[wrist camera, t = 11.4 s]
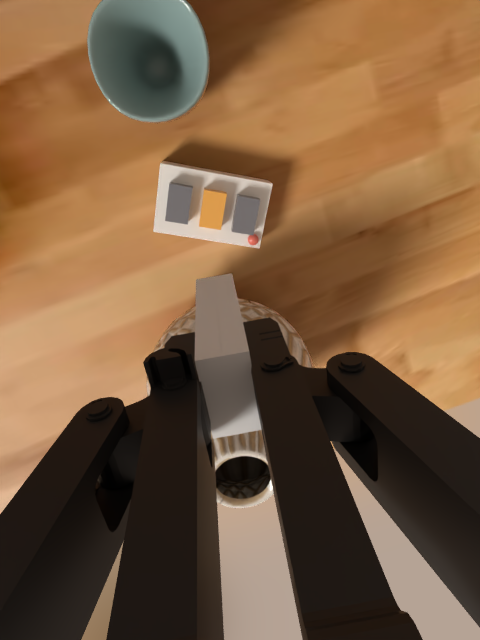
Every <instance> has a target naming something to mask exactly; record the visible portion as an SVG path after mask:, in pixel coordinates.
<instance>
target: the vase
mask: <svg viewBox="0 0 480 640" xmlns="http://www.w3.org/2000/svg"><path fill="white" fill-rule="evenodd" d="M238 302H239V307H240V312H241V316H242V321H243V322H247V321H252V320H258V319H263V318H269V317H270V318H272V319H273V320H275V321H276V322H278V324H279V327H280V329H281V332H282V334H283V337H284V339H285V342H286V344H287V347H288V349H289V352H290V354H291V355H292V356H294V357H295V358H296V360H297V361H298V363H299V365H301V366H304V367H309V368H313V363H312V359H311V356H310V353H309V351H308V349H307V347H306V345H305V343H304V341H303V339H302V338H301V336H300V335H299V333H298V332H297V331H296V330H295V328H294V327H293V326H292V325H291V324H290V323H289V322H288V321H287V320H286V319H285V318H284V317H282V316H281V315H280V314H279V313H277V312H276V311H274V310H272V309H271V308H269V307H267V306H265V305H262V304H260V303H257V302H254V301H250V300H246V299H238ZM195 311H196V306H195V307H193V308H191V309H189V310H188V311H186V312H185V313H183V314H182V315H180V316H179V317H178V318H177V319H176V320H174V321H173V322H172V323H171V324H170V326H169V327H168V328H167V329H166V330H165V332H164V333H163V335H162V336H161V338H160V339H159V341H158V343H157V345H156V347H155V349H154V351H153V352H155V351H157V350H159V349H162V348H164V346H165V343H166V342H167V341H168V340H169V339H170V337H171V336H175V335H180V334H186V333H192V332H195ZM150 389H151V387H150V383H149V380H148V377H147V396H149V395H150ZM211 439H212V443H213V447H214V455H215V475H216V494H217V502H218V503H220V504H222V505H224V506H228V507H232V508H246V507H252V506H255V505H258V504H260V503H262V502H264V501H266V500H267V499H269V498H270V497H271V496H272V495H273V494H274V492H273V487H272V482H271V477H270V472H269V467H268V462H267V459H266V453H265V447H264V441H263V436H262V430H258V431H253V432H247V433H242V434H236V435H231V436H225V437H220V438H214V439H213V437H212V432H211Z"/></svg>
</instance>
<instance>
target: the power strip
mask: <svg viewBox="0 0 480 640" xmlns="http://www.w3.org/2000/svg"><path fill="white" fill-rule="evenodd" d="M272 185H273V184H272V183H271V182H270V181H269V180H264V179H259V178H253V177H248V176H243V175H237V174H232V173H226V172H221V171H216V170H210V169H205V168H200V167H194V166H189V165H183V164H178V163H173V162H167V161H162V162H161V163H160V171H159V181H158V191H157V201H156V211H155V220H154V230H153V232H159V233H165V234H172V235H178V236H184V237H190V238H197V239H203V240H209V241H216V242H222V243H228V244H234V245H241V246H247V247H253V248H260V243H261V238H262V234H263V229H264V224H265V219H266V214H267V209H268V204H269V200H270V195H271V190H272Z"/></svg>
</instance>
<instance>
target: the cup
mask: <svg viewBox="0 0 480 640" xmlns="http://www.w3.org/2000/svg"><path fill="white" fill-rule="evenodd" d="M87 41H88V55H89V59H90V64H91V69H92V71H93V74H94V77H95V79H96V82H97V84H98V86H99V88H100V89H101V91H102V93H103V95H104V96H105V97H106V99H107V100H108V101H109V102H110V104H111V105H112V106H113V107H115V108H116V109H117V110H118V111H119V112H120V113H122V114H124V115H125V116H127V117H129V118H131V119H134V120H137V121H141V122H146V123H165V122H171V121H174V120H177V119H180V118H182V117H184V116H185V115H187V114H189V113H190V112H191V111H192V110H193V109H195V108H196V107H197V105H198V104H199V103H200V101H201V100H202V98H203V96H204V93H205V91H206V89H207V84H208V79H209V73H210V56H209V47H208V42H207V38H206V35H205V31H204V29H203V26H202V24H201V22H200V19H199V17H198V15H197V14H196V12H195V11H194V9H193V8H192V6H191V5H190V4H189V3H188V2H187V1H186V0H102V1H101V2H100V3H99V5H98V6H97V8H96V9H95V11H94V13H93V15H92V18H91V21H90V24H89V29H88V39H87Z"/></svg>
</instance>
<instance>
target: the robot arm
mask: <svg viewBox="0 0 480 640" xmlns="http://www.w3.org/2000/svg"><path fill="white" fill-rule="evenodd" d="M143 363H144V367H145V370H146V373H147V377H148V380H149V383H150V387H151V389H150V395H149V396H148V397H146V398H145V399H143V400H141V401H139V402H136V403H134V404H131V405H129V406H126V407H125V406H124V404H123V401H122V400H120V399H118V398H114V397H107V398H100V399H97V400H94V401H92V402H90V403H89V404H87V405H85V406H84V407H82V408H81V409H80V410H79V411H78V412H77V413H76V415H75V416H74V417H73V419H72V420H71V421H70V423H69V424H68V425H67V427H66V428H65V429H64V431H63V432H62V433H61V435H60V436H59V437H58V439H57V440H56V441H55V443H54V444H53V445H52V447H51V448H50V449H49V451H48V452H47V453H46V455H45V456H44V457H43V459H42V460H41V461H40V463H39V464H38V465H37V467H36V468H35V469H34V470H33V472H32V473H31V474H30V476H29V477H28V478H27V480H26V481H25V482H24V484H23V485H22V486H21V488H20V489H19V490H18V492H17V493H16V494H15V496H14V497H13V498H12V500H11V501H10V502H9V504H8V505H7V506H6V508H5V509H4V510H3V512H2V513H1V514H0V640H81V639H82V636H83V634H84V632H85V629H86V627H87V625H88V622H89V620H90V618H91V615H92V613H93V611H94V608H95V606H96V604H97V601H98V599H99V597H100V594H101V592H102V590H103V587H104V585H105V583H106V580H107V578H108V576H109V573H110V571H111V569H112V566H113V564H114V562H115V559H116V557H117V555H118V552H119V550H120V547H121V545H122V543H123V541H124V543H123V548H122V554H121V560H120V566H119V571H118V577H117V583H116V588H115V594H114V600H113V606H112V611H111V617H110V622H109V628H108V633H107V639H106V640H224V633H223V612H222V592H221V573H220V554H219V534H218V514H217V494H216V475H215V455H214V447H213V443H212V439H211V432H212V437H213V439H214V438H220V437H225V436H231V435H236V434H242V433H247V432H253V431H258V430H262V436H263V441H264V447H265V453H266V459H267V462H268V467H269V472H270V477H271V482H272V487H273V492H274V497H275V502H276V507H277V512H278V517H279V522H280V526H281V532H282V537H283V542H284V547H285V552H286V557H287V562H288V567H289V572H290V578H291V582H292V588H293V593H294V597H295V603H296V607H297V613H298V617H299V623H300V628H301V633H302V638H303V640H423V639H422V637H421V635H420V633H419V631H418V629H417V627H416V625H415V623H414V621H413V620H412V618H411V617H410V616H409V614H408V613H407V612H404V611H401V610H400V608H399V607H398V605H397V603H396V601H395V599H394V597H393V595H392V592H391V590H390V587H389V584H388V582H387V579H386V577H385V575H384V572H383V570H382V567H381V565H380V562H379V560H378V557H377V555H376V552H375V550H374V548H373V545H372V543H371V540H370V538H369V535H368V533H367V531H366V528H365V525H364V523H363V521H362V518H361V516H360V513H359V511H358V508H357V506H356V504H355V501H354V498H353V496H352V494H351V491H350V489H349V486H348V484H347V481H346V479H345V476H344V474H343V471H342V469H341V467H340V464H339V462H338V460H337V457H336V454H335V452H334V449H333V447H332V444H331V442H330V441H332V443H333V445H334V447H335V449H336V451H337V452H338V453H339V454H340V455H341V457H342V458H343V459H344V460H345V462H346V463H347V464H348V465H349V467H350V468H351V469H352V470H353V471H354V473H355V474H356V475H357V476H358V478H359V479H360V480H361V481H362V482H363V484H364V485H365V486H366V488H367V489H368V490H369V491H370V492H371V494H372V495H373V496H374V497H375V499H376V500H377V501H378V502H379V504H380V505H381V506H382V507H383V509H384V510H385V511H386V512H387V513H388V515H389V516H390V517H391V518H392V520H393V521H394V522H395V523H396V524H397V526H398V527H399V528H400V530H401V531H402V532H403V533H404V534H405V536H406V537H407V538H408V539H409V541H410V542H411V543H412V544H413V545H414V547H415V548H416V549H417V550H418V552H419V553H420V554H421V555H422V557H423V558H424V559H425V560H426V561H427V563H428V564H429V565H430V567H431V568H432V569H433V570H434V571H435V573H436V574H437V575H438V576H439V577H440V579H441V580H442V581H443V583H444V584H445V585H446V586H447V588H448V589H449V590H450V591H451V592H452V594H453V595H454V596H455V597H456V599H457V600H458V601H459V602H460V604H461V605H462V606H463V607H464V609H465V610H466V611H467V612H468V613H469V615H470V616H471V617H472V618H473V620H474V621H475V622H476V623H477V624H478V626H479V627H480V438H479V437H477V436H476V435H474V434H473V433H472V432H471V431H469V430H468V429H467V428H465V427H464V426H463V425H461V424H460V423H459V422H457V421H456V420H455V419H453V418H452V417H451V416H449V415H448V414H447V413H445V412H444V411H443V410H441V409H440V408H439V407H437V406H436V405H435V404H433V403H432V402H431V401H429V400H428V399H427V398H425V397H424V396H423V395H422V394H420V393H419V392H418V391H416V390H415V389H414V388H412V387H411V386H410V385H408V384H407V383H406V382H404V381H403V380H402V379H400V378H399V377H398V376H396V375H395V374H394V373H392V372H391V371H390V370H388V369H387V368H386V367H384V366H383V365H382V364H380V363H379V362H378V361H376V360H375V359H374V358H372V357H370V356H368V355H366V354H362V353H358V352H346V353H342V354H338V355H336V356H334V357H332V358H331V359H330V360H329V361H328V362H327V366H326V368H309V367H304V366H301V365H299V363H298V361H297V360H296V358H295V357H294V356H292V355H291V354H290V352H289V349H288V347H287V344H286V342H285V339H284V337H283V334H282V332H281V329H280V327H279V324H278V322H276V321H275V320H273V319H272V318H270V317H269V318H263V319H258V320H252V321H247V322H243V321H242V316H241V312H240V307H239V302H238V298H237V293H236V289H235V284H234V280H233V275H232V273H230V274H225V275H219V276H214V277H208V278H202V279H197V280H196V311H195V332H192V333H186V334H180V335H175V336H171V337H170V339H169V340H168V341H167V342H166V343H165V346H164V348H162V349H159V350H157V351H155V352H153V353H151V354H150V355H149V356H148V357H146V359H145V361H144V362H143Z"/></svg>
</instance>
